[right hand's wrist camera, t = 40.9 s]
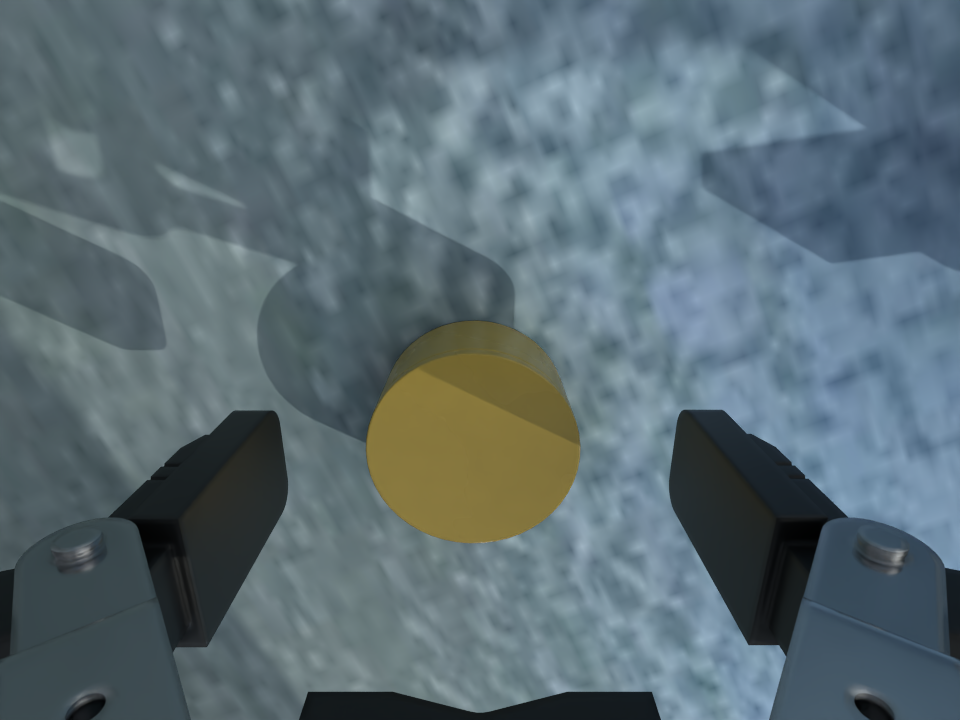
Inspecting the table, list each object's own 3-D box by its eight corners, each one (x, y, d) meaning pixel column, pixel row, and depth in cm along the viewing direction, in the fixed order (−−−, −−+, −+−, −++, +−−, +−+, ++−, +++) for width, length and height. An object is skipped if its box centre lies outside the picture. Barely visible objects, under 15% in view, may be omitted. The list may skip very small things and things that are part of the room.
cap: (372, 328, 13) (348, 363, 11) (560, 311, 13) (577, 344, 11) (398, 489, 15) (382, 550, 13) (567, 476, 15) (583, 536, 12)
